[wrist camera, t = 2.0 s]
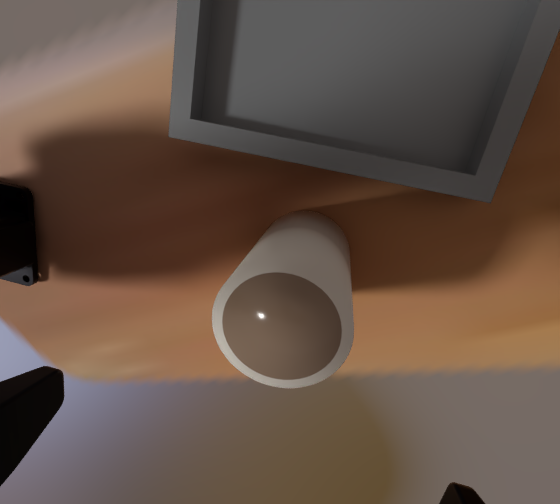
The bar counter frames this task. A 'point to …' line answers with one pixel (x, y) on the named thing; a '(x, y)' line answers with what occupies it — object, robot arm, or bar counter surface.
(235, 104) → the tray
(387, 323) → the bar counter surface
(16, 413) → the robot arm
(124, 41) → the bar counter surface
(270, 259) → the ceramic cup
